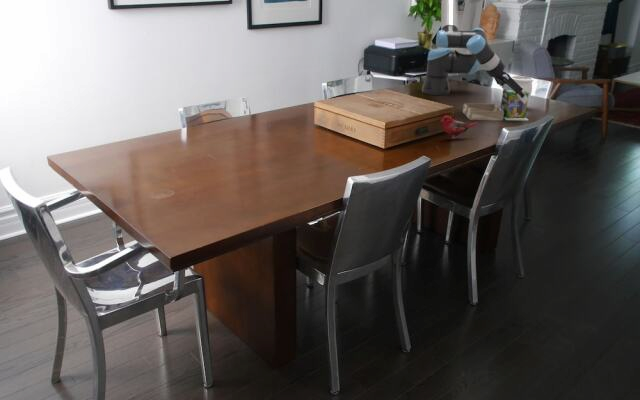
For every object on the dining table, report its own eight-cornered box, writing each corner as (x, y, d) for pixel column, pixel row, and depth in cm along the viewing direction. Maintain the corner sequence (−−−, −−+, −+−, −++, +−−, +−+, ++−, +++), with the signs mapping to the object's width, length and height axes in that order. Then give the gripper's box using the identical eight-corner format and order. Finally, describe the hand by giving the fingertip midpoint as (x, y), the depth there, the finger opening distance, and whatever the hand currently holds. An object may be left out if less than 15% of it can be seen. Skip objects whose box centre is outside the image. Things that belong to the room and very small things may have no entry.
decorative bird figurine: (436, 139, 210) (438, 114, 206) (475, 136, 215) (478, 112, 211) (439, 141, 208) (442, 116, 204) (479, 138, 212) (482, 113, 208)
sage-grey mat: (497, 112, 250) (497, 111, 250) (518, 112, 250) (518, 111, 250) (506, 120, 238) (506, 119, 237) (528, 120, 237) (528, 119, 237)
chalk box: (525, 118, 240) (531, 85, 234) (505, 117, 240) (510, 85, 234) (518, 113, 248) (523, 81, 242) (499, 112, 248) (503, 81, 242)
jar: (504, 109, 255) (509, 78, 249) (506, 105, 264) (511, 75, 258) (528, 112, 252) (533, 80, 246) (528, 107, 260) (534, 76, 254)
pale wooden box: (462, 111, 251) (463, 103, 249) (493, 112, 251) (494, 103, 249) (469, 119, 238) (471, 111, 236) (502, 120, 237) (504, 111, 236)
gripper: (474, 66, 244) (499, 97, 252) (499, 76, 222) (526, 110, 230) (486, 54, 243) (512, 86, 251) (512, 63, 220) (539, 98, 229)
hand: (518, 97), depth 241 cm, fingers open, 13 cm apart
